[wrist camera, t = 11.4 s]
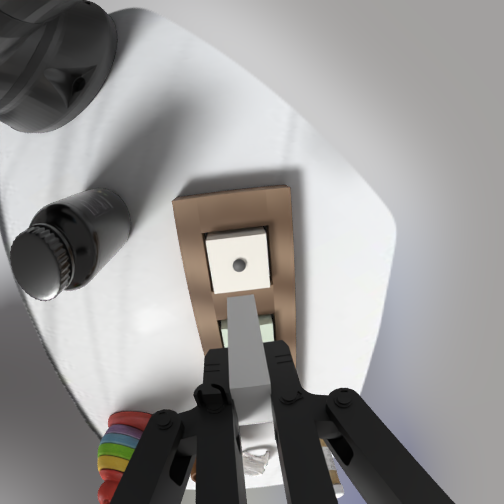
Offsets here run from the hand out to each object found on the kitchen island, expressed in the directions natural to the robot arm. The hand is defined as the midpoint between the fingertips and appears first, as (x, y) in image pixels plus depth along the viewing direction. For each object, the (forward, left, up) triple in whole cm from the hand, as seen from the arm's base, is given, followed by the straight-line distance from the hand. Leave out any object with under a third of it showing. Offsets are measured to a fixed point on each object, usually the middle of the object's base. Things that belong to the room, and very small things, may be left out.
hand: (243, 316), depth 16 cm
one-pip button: (+1, 0, -12) cm, 12 cm away
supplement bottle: (-4, -13, -12) cm, 18 cm away
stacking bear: (+30, -21, -12) cm, 38 cm away
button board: (+10, 0, -12) cm, 15 cm away
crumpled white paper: (+42, -3, -12) cm, 44 cm away
